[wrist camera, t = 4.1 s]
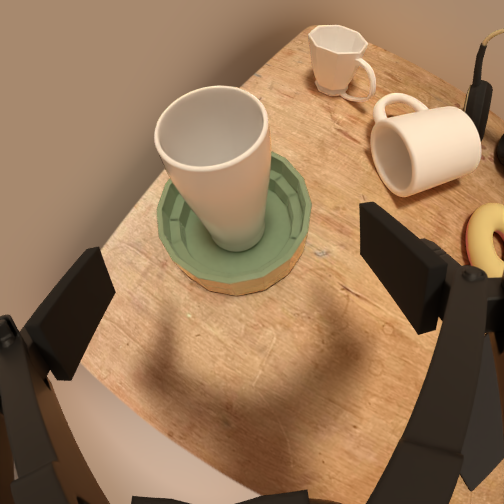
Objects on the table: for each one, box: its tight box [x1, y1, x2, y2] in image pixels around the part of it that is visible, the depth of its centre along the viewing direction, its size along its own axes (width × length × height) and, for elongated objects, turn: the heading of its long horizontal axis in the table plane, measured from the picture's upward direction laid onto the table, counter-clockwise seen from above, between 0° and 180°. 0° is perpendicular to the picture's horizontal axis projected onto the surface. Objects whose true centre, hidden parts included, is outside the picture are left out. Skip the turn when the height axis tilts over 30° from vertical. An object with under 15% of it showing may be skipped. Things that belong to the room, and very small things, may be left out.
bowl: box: [157, 151, 312, 296], centre depth 29 cm, size 13×13×5 cm
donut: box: [466, 203, 504, 278], centre depth 27 cm, size 10×5×9 cm
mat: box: [460, 333, 504, 491], centre depth 23 cm, size 14×14×1 cm
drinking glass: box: [154, 86, 271, 252], centre depth 24 cm, size 7×7×15 cm
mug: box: [370, 93, 481, 197], centre depth 30 cm, size 12×10×8 cm
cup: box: [308, 25, 376, 102], centre depth 33 cm, size 7×10×8 cm
